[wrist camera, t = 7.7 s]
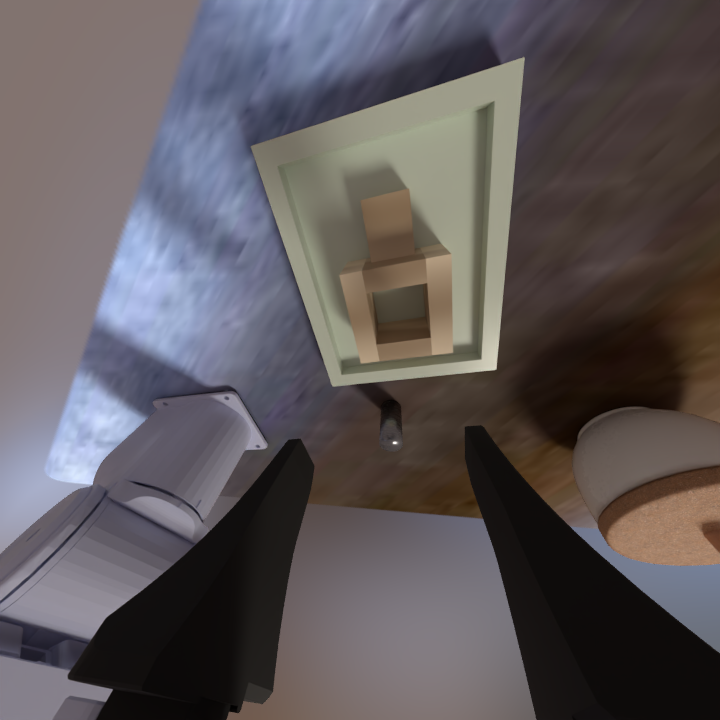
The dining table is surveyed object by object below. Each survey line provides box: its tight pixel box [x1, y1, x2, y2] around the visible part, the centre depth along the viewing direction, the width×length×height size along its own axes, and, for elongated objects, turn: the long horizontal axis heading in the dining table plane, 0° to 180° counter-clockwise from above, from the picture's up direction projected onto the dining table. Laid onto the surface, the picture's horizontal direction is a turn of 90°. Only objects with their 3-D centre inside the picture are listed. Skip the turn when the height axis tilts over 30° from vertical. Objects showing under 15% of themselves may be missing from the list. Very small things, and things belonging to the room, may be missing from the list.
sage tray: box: [251, 58, 524, 386], centre depth 16 cm, size 12×15×2 cm
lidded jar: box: [572, 406, 720, 566], centre depth 18 cm, size 11×11×9 cm
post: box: [379, 401, 403, 451], centre depth 21 cm, size 2×2×4 cm
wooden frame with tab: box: [339, 188, 453, 363], centre depth 15 cm, size 9×6×3 cm, turn 12°
